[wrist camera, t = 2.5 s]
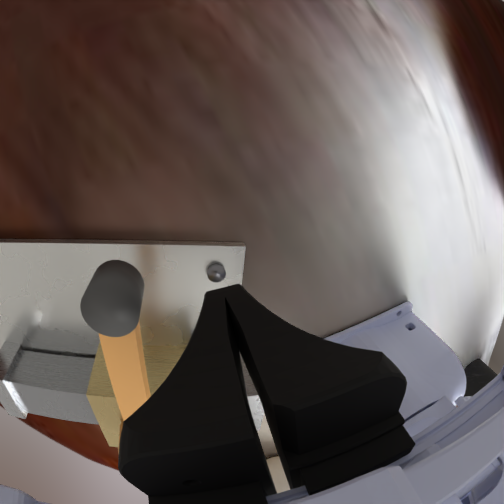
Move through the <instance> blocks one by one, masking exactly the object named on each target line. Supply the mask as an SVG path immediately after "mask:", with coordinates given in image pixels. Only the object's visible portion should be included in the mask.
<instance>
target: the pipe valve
mask: <svg viewBox="0 0 504 504" xmlns="http://www.w3.org/2000/svg"><path fill="white" fill-rule="evenodd" d="M185 348H186V346H156V345H143V352H144V359H145V365H146V372H147V378H148V383H149V389H150V394H151V396H152V395H153V394H154V392H155V391H156V390H157V389H158V388H159V387H160V386H161V384H162V383H163V382H164V381H165V379H166V378H167V377H168V375H169V374H170V372H171V371H172V369H173V368H174V366H175V365H176V364H177V362H178V360H179V359H180V357H181V355H182V354H183V352H184V350H185ZM239 352H240V351H239ZM240 358H241V363H242V369H243V375H244V381H245V386H246V392H247V398H248V402H249V406H250V410H251V413H252V417H253V420H254V423H255V426H256V430H257V431H258V430H260V427H261V423H262V419H263V415H264V410H263V407H262V404H261V401H260V399H259V396H258V394H257V391H256V389H255V387H254V384H253V382H252V380H251V377H250V375H249V373H248V370H247V368H246V366H245V363H244V361H243V359H242V356H241V354H240ZM0 402H1V404H2V405H3V407H4V408H5V410H6V411H7V413H8V414H9V415H11V416H15V417H19V418H23V419H26V416H27V413H32V414H37V415H42V416H46V417H52V418H57V419H63V420H69V421H76V422H83V423H91V424H99V426H100V428H101V430H102V432H103V434H104V436H105V438H106V440H107V442H108V444H109V446H115V447H119V432H120V424H121V422H122V421H123V418H122V415H121V412H120V409H119V406H118V403H117V400H116V397H115V394H114V390H113V387H112V384H111V380H110V377H109V373H108V370H107V366H106V362H105V358H104V354H103V350H102V346H101V343H99V346H98V349H97V353H96V357H95V358H83V357H73V356H63V355H55V354H47V353H39V352H32V351H26V350H23V347H22V345H21V344H19V343H13V342H7V341H5V342H4V344H3V345H2V347H1V349H0Z"/></svg>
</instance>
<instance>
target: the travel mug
mask: <svg viewBox="0 0 504 504" xmlns="http://www.w3.org/2000/svg"><path fill="white" fill-rule="evenodd" d="M464 371H465V375H466V391H465V394H464V396H463V397H465V396H473V395H475V394H476V393H477V392H478V391H480V390H481V389H482V388H483V387H485V386H486V385H487V384H488V383H489V382H491V381H492V380H493V379H494V378H495V377H496V376H497V374H496V373H495V372H494V371H493V370H492V369H491V368H489V367H488V366H487V365H486V364H485V363H484V362H483V361H481V360H480V359H477V360H475V361H473V362H472V363H471V364H469V365H468V366H467V367H466V368H465V369H464Z"/></svg>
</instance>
